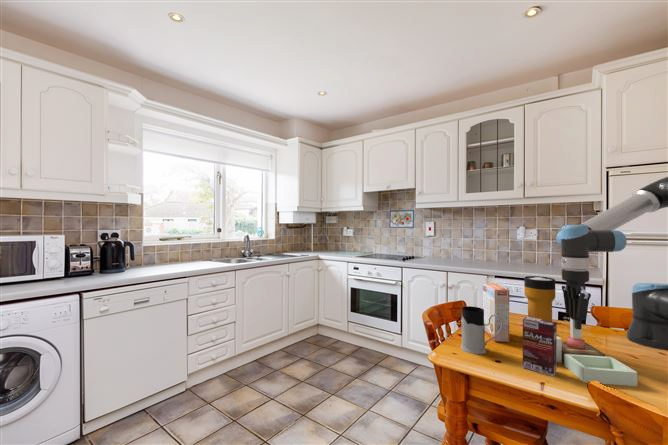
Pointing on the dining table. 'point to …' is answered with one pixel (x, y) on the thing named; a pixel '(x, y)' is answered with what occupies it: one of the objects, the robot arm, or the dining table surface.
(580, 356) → the trough
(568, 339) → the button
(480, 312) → the glass holder
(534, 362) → the supplement box
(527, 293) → the flashlight
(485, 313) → the cracker box
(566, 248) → the robot arm
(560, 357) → the open box
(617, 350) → the dining table surface
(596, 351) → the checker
